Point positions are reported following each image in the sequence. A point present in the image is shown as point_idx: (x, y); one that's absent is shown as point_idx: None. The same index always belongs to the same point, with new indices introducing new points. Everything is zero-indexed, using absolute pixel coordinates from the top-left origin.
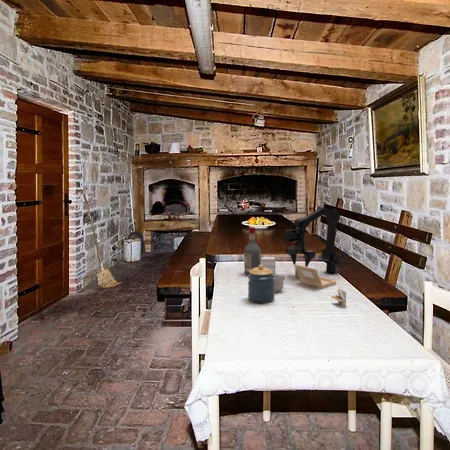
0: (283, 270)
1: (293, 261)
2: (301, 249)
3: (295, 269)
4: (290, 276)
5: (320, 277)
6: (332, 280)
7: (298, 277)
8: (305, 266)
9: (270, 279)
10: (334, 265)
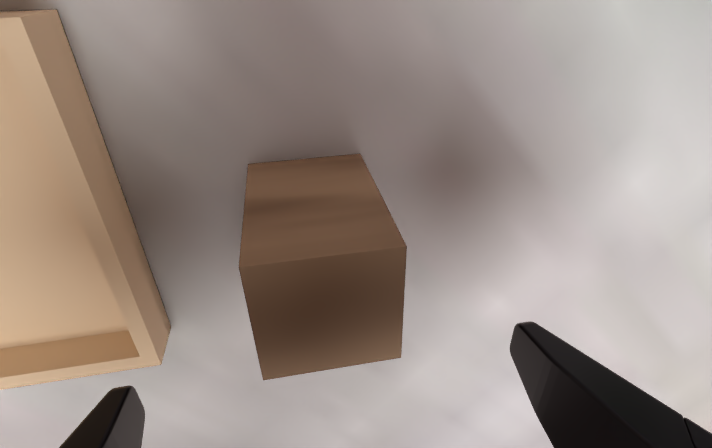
0: (686, 266)
1: (581, 383)
2: None
3: (395, 232)
4: (468, 152)
5: (6, 374)
6: None
7: (293, 169)
8: (115, 405)
9: None
10: None
